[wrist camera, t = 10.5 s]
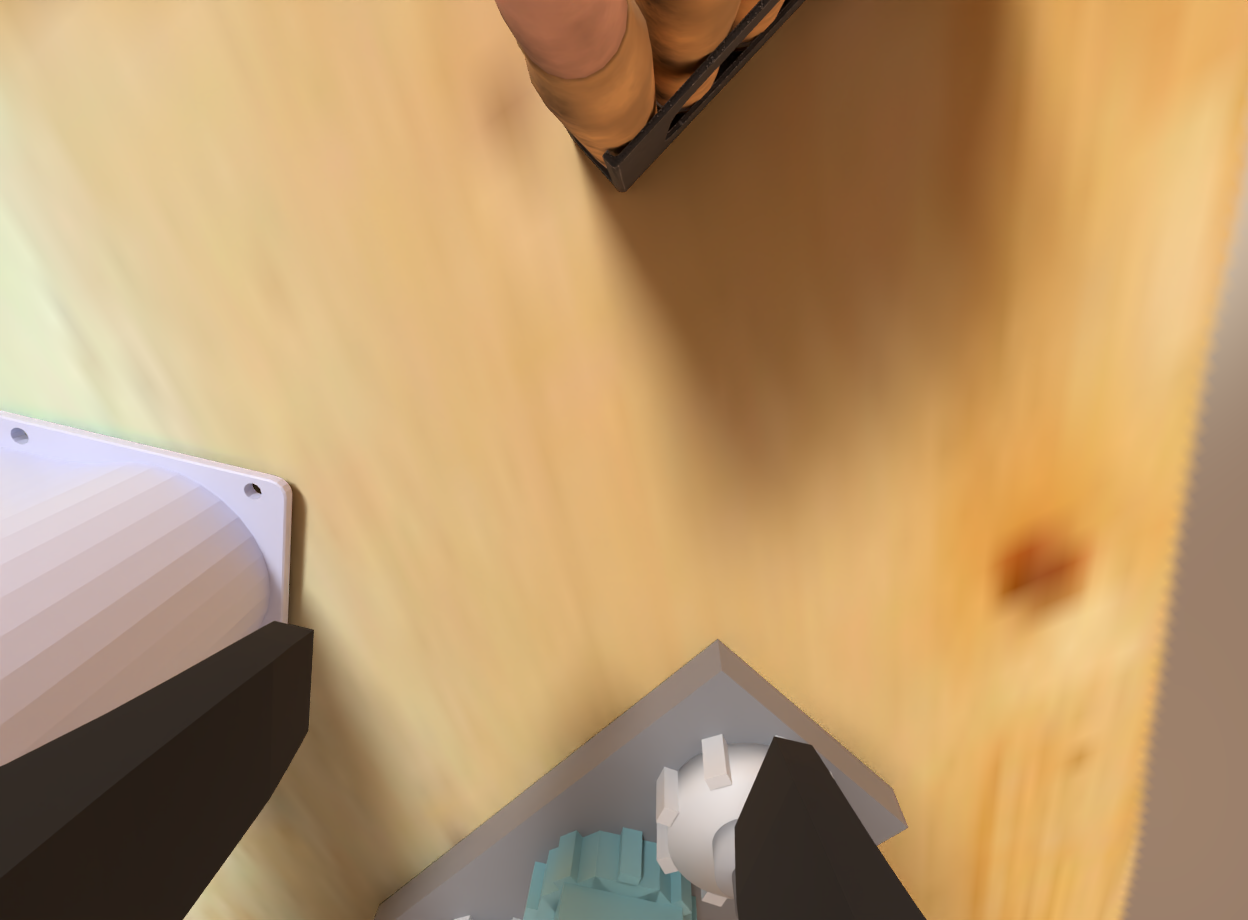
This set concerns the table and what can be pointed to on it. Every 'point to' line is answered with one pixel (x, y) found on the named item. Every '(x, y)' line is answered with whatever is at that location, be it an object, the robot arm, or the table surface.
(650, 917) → the teal gear
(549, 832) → the gear board
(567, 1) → the ammunition clip
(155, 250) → the table surface
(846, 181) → the table surface
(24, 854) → the robot arm
